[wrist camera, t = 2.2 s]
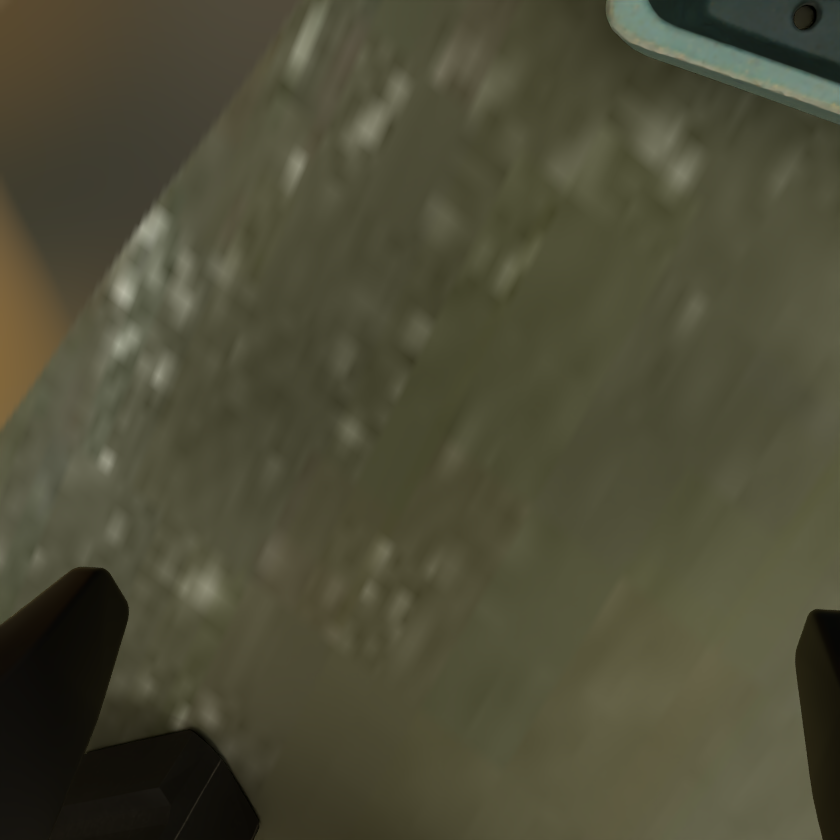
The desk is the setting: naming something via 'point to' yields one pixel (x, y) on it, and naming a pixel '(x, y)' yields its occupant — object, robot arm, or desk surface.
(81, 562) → the desk surface
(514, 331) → the desk surface
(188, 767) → the portable radio
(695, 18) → the flower pot
